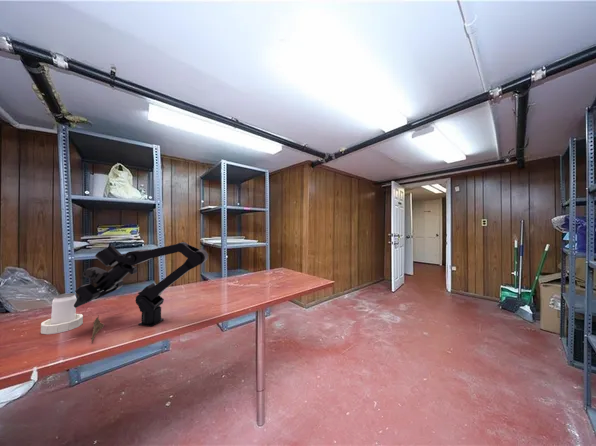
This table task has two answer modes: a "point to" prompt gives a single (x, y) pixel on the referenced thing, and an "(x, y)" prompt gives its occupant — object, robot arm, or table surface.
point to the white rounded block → (63, 308)
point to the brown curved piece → (96, 327)
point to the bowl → (61, 325)
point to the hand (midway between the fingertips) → (84, 302)
